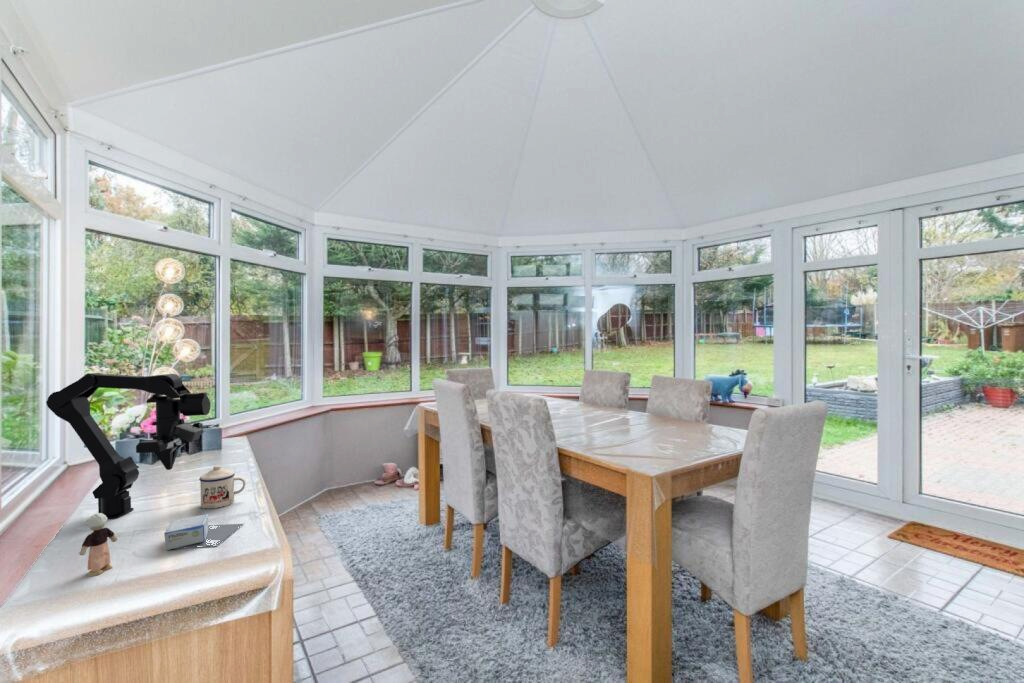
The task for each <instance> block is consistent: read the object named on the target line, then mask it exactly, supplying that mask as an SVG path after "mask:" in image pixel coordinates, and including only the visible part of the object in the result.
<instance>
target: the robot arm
mask: <svg viewBox="0 0 1024 683" xmlns="http://www.w3.org/2000/svg"><path fill="white" fill-rule="evenodd" d="M99 388H103V389H118V390H119V389H123V390H138V391H143V392H146V393H150V394H152V396H151V397H150V398H148V399H147V400H146V403H147V404H148V403H149V404H150V403H152V404H153V403H155V421H152V423H151V424H152V426H155V429H156V430H155V432H156V434H155V435H152V439H146V440H143V441H140V442H138V443H137V445H135V453H136V454H143V453H144V454H146V453H150V454H151V453H154V455H155V456H156V457H157V458H158V460H159V461H160V462H161V463H162V465H163V467H164V468H165V470H167V471H170V470H172V469H173V466H174V464H175V462H176V459H177V455H178V453H179V450H180V449H181V448H183V447H184V446H186V444H187V443H193V442H195V441H198V440H199V439H200V437H201V435H202V434H204V432H205V431H204V424H203V423H202V422H199V421H197V422H194V423H193V424H186V421H185V419H184V418H181V415H183V416H184V417H193V416H196V417H197V416H207V415H208V414H209V413H210V410H211V401H210V399H209V397H208V393H207V391H206V392H203V391H202V392H195V393H194V392H193V393H192V392H191V391H190V390H189V389H188V388H187V387H186V386H185V384H184V383H183V380H182V377H180V376H179V375H178V374H176V373H167V374H165V373H164V374H156V375H155V374H154V375H149V376H148V375H146V376H145V375H144V376H143V375H142V376H141V375H129V374H128V375H127V374H126V375H125V374H112V373H111V374H109V373H108V374H107V373H100V372H95V373H94V372H93V373H87V374H84V376H82V377H80V378H79V379H77V380H76V381H75V382H73V383H70V384H69V385H67V386H65V387H63V388H62V389H61V390H58V391H54V392H51V394H50V395H49V396H48V397H47V400H46V402H45V404H46V406H47V408H48V409H49V410H50V411H51V412H52V413H53V414H54V415H55V416H56V417H57V418H59V419H61V420H63V421H65V422H67V423H69V426H71V427H72V429H73V430H74V433H76V435H77V436H78V437H79V439H80V440H81V442H82V444H83V445H84V446H85V447H86V449H87V450H88V452H89V453H90V454H91V456H92V458H93V459H94V460H95V462H96V463H97V464H98V467H99V469H98V470H99V475H98V476H99V478H100V480H101V483H100V484H99V485H98V486H97V487H96V488H95V489H93V491H92V495H93V497H94V499H96V500H98V501H97V504H98V506H97V509H98V513H102V514H104V515H106V517H107V519H116V518H120V517H122V516H124V515H126V514H128V513H129V512H132V511H133V510H134V509H135V508H134V507H132V497H131V495H130V490H129V489H131V488H132V487H133V484H134V482H136V481H137V479H138V478H139V475H140V471H139V468H140V466H139V465H137V464H136V463H135V461H134V458H133V457H132V456H128V457H126V458H125V457H123V456H121V455H120V454H119V453H118V452H117V450H116V449H115V447H114V446H113V445H112V444H111V442H110V440H109V439H108V437H107V436H106V435H105V433H104V432H103V431H102V429H101V428H100V426H99V425H98V423H97V422H96V420H95V419H94V417H93V416H92V414H91V404H90V401H89V400H88V399H89V398H90V397H92V396H93V395H94V394H95V392H96V391H98V389H99ZM182 440H183V441H185V442H182ZM186 442H187V443H186Z"/></svg>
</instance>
